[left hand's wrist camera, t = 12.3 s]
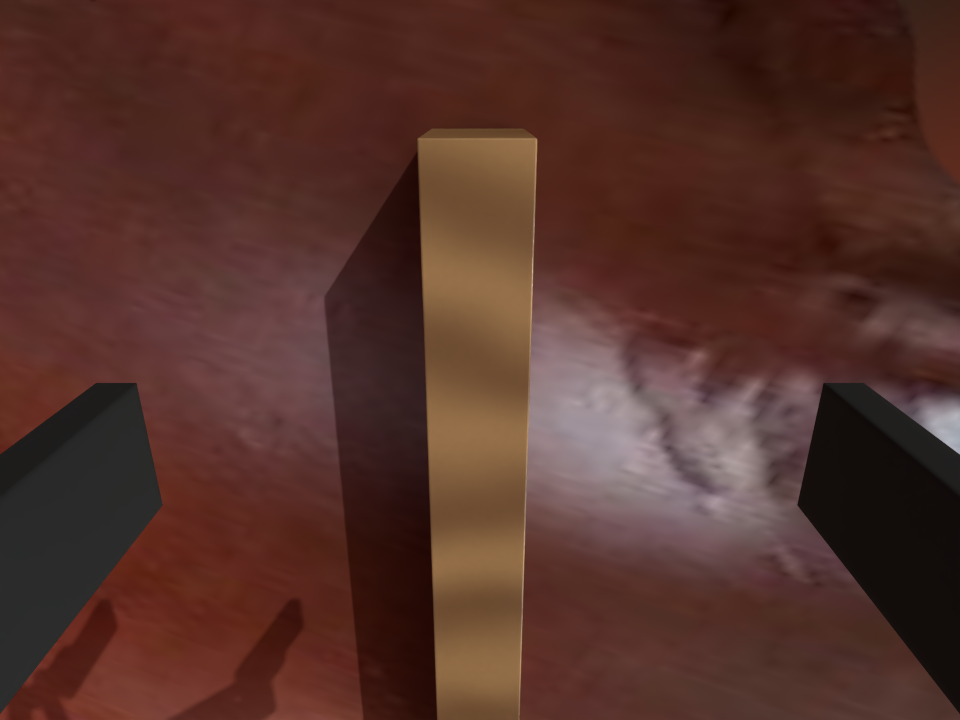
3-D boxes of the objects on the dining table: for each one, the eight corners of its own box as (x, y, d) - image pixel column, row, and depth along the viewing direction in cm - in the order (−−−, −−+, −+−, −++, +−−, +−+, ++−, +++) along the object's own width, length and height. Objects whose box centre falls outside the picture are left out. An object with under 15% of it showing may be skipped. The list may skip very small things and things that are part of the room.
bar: (430, 128, 35) (416, 137, 27) (524, 128, 35) (537, 137, 27) (451, 897, 60) (447, 1017, 52) (506, 896, 60) (510, 1017, 52)
